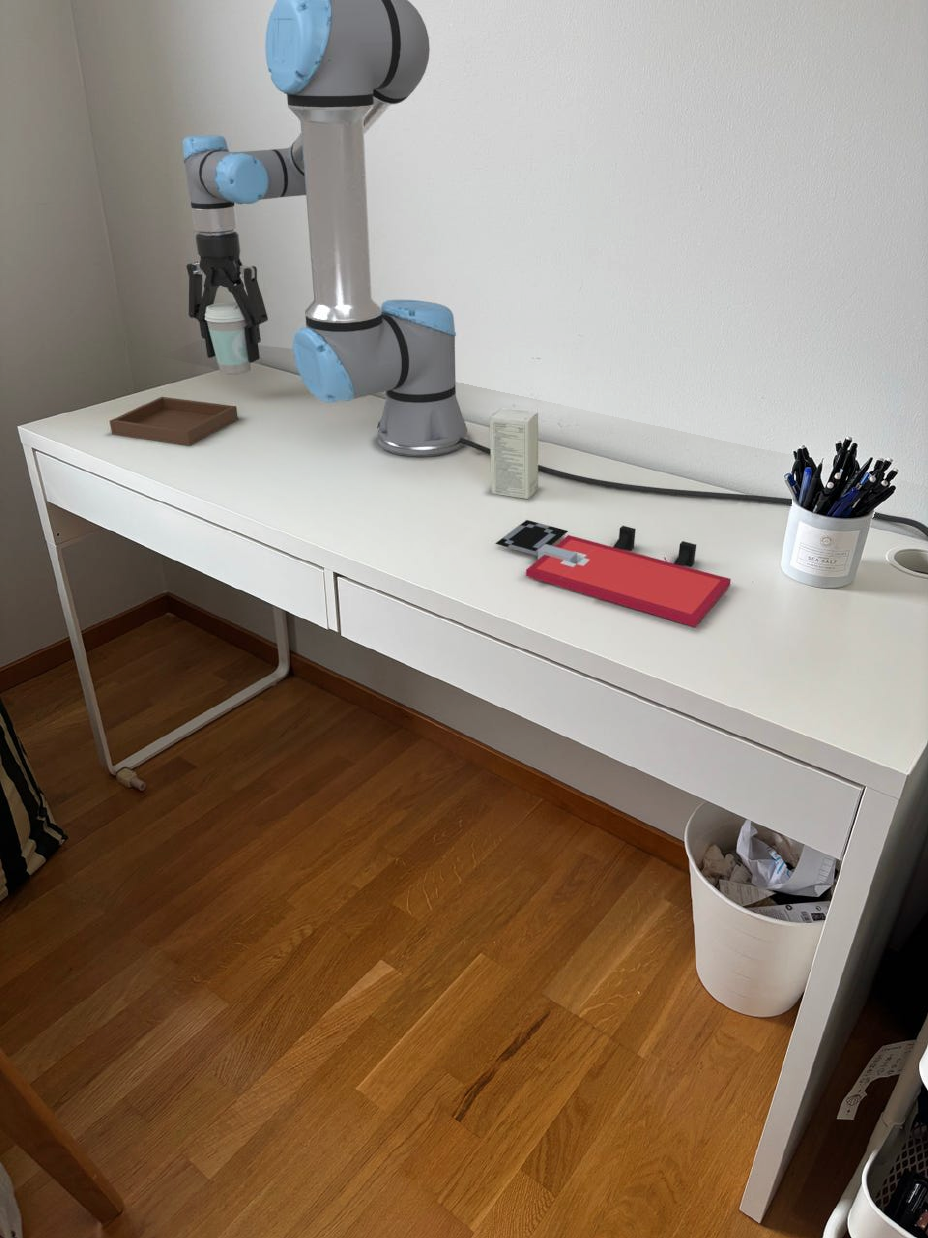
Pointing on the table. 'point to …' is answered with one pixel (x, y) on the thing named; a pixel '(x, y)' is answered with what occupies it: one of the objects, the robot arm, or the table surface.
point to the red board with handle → (620, 572)
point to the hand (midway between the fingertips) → (233, 357)
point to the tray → (174, 420)
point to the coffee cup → (228, 337)
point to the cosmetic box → (514, 452)
